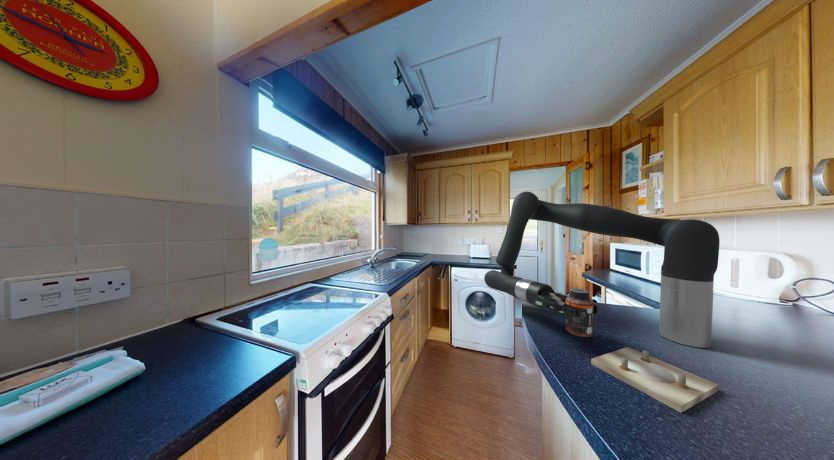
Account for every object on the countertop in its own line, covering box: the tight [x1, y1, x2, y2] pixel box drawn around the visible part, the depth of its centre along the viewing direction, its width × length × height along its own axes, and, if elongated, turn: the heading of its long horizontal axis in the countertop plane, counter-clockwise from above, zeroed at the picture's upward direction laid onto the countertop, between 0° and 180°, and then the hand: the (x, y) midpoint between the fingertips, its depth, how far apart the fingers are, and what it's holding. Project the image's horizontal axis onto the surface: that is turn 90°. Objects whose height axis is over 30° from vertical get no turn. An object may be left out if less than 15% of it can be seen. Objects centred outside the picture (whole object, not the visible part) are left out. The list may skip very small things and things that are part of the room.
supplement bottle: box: [564, 288, 594, 338], centre depth 59 cm, size 6×6×11 cm
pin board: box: [590, 346, 719, 414], centre depth 47 cm, size 14×14×3 cm
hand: (589, 311), depth 57 cm, fingers closed on supplement bottle, 6 cm apart
